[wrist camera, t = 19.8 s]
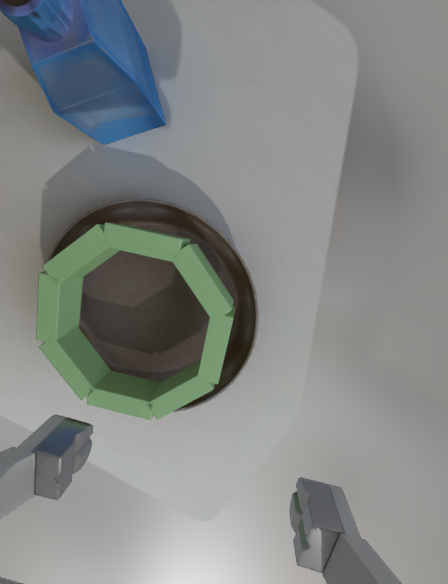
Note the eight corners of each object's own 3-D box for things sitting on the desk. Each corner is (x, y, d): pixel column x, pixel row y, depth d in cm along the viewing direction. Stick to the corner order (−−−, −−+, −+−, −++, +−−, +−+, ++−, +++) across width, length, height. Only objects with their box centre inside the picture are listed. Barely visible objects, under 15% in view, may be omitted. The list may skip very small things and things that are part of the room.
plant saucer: (163, 427, 29) (153, 450, 26) (28, 302, 27) (-1, 311, 24) (299, 312, 25) (307, 323, 22) (150, 155, 23) (134, 141, 20)
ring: (248, 251, 21) (248, 253, 18) (211, 411, 24) (206, 434, 21) (68, 212, 21) (41, 208, 19) (58, 373, 25) (33, 391, 22)
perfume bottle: (145, 46, 21) (21, -188, 10) (165, 124, 22) (78, 0, 11) (80, 70, 22) (-106, -118, 10) (103, 144, 23) (-41, 50, 12)
